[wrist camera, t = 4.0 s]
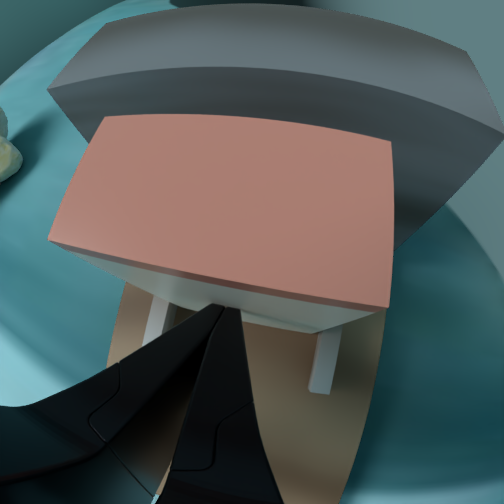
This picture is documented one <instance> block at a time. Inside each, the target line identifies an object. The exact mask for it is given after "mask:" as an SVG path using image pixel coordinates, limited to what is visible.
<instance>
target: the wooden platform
mask: <svg viewBox="0 0 504 504" xmlns="http://www.w3.org/2000/svg"><path fill="white" fill-rule="evenodd" d="M47 91H48V92H49V93H50V95H51V96H52V97H53V99H54V100H55V101H56V103H57V104H58V105H59V107H60V108H61V109H62V111H63V112H64V113H65V114H66V116H67V117H68V118H69V120H70V121H71V122H72V123H73V125H74V126H75V127H76V128H77V130H78V131H79V132H80V133H81V135H82V136H83V137H84V138H85V140H86V141H87V142H88V143H90V142H91V140H92V138H93V136H94V134H95V133H96V131H97V129H98V127H99V126H100V124H101V122H102V120H103V119H104V117H108V116H122V115H143V114H201V115H223V116H238V117H250V118H261V119H270V120H279V121H286V122H294V123H301V124H308V125H314V126H320V127H326V128H331V129H337V130H342V131H347V132H352V133H357V134H361V135H366V136H370V137H374V138H378V139H383V140H387V141H391V147H392V162H393V182H394V244H393V251H394V250H396V249H397V248H398V247H399V246H400V245H401V244H402V243H403V242H405V241H406V240H407V239H408V238H409V237H410V236H411V235H412V234H413V233H414V232H416V231H417V230H418V229H419V228H420V227H421V226H422V225H423V224H424V223H425V222H426V221H427V220H428V219H429V218H430V217H431V216H432V215H434V214H435V213H436V212H437V211H438V210H439V209H440V208H441V207H442V206H443V205H444V204H445V203H446V202H447V201H448V200H449V199H450V198H451V197H452V196H453V195H454V194H455V193H456V192H457V190H459V188H460V187H461V186H462V185H463V184H464V183H465V182H466V181H467V180H468V179H469V178H470V177H471V176H472V175H473V174H474V173H475V171H476V170H477V169H478V168H479V167H480V166H481V165H482V164H483V163H484V162H485V160H486V159H487V158H488V157H489V156H490V154H491V153H493V151H494V150H495V149H496V148H497V147H498V145H499V144H500V143H501V142H502V141H503V140H504V126H503V124H502V121H501V119H500V116H499V114H498V112H497V110H496V107H495V105H494V103H493V101H492V99H491V96H490V94H489V92H488V90H487V88H486V86H485V84H484V82H483V80H482V78H481V76H480V75H479V73H478V71H477V69H476V67H475V65H474V64H473V62H472V60H471V59H470V57H469V55H468V54H467V52H466V51H464V50H462V49H459V48H457V47H455V46H453V45H450V44H448V43H445V42H443V41H441V40H438V39H435V38H433V37H430V36H428V35H425V34H422V33H419V32H417V31H414V30H411V29H408V28H404V27H401V26H398V25H395V24H391V23H387V22H384V21H380V20H376V19H372V18H368V17H364V16H359V15H355V14H350V13H344V12H339V11H333V10H326V9H320V8H312V7H302V6H292V5H278V4H219V5H204V6H194V7H185V8H177V9H170V10H164V11H158V12H152V13H147V14H142V15H137V16H133V17H129V18H124V19H120V20H117V21H113V22H109V23H106V24H105V25H104V26H103V27H102V28H101V29H100V30H99V31H98V32H97V33H96V34H95V35H94V36H93V37H92V38H91V39H90V40H89V41H88V42H87V43H86V44H85V45H84V46H83V47H82V48H81V49H80V50H79V51H78V52H77V54H76V55H75V56H74V57H73V58H72V59H71V60H70V61H69V63H68V64H67V65H66V66H65V67H64V68H63V70H62V71H61V72H60V73H59V74H58V76H57V77H56V78H55V79H54V81H53V82H52V83H51V85H50V86H49V87H48V88H47ZM386 310H387V309H384V310H381V311H379V312H376V313H373V314H370V315H368V316H365V317H362V318H359V319H356V320H353V321H350V322H347V323H344V324H341V325H338V326H335V327H332V328H329V329H325V330H322V331H319V332H316V333H312V334H309V333H303V332H297V331H291V330H286V329H280V328H275V327H269V326H264V325H259V324H254V323H249V322H244V321H242V323H243V330H244V337H245V344H246V351H247V358H248V365H249V372H250V378H251V385H252V391H253V398H254V404H255V410H256V416H257V421H258V426H259V431H260V435H261V439H262V442H263V446H264V449H265V452H266V455H267V458H268V461H269V464H270V467H271V469H272V472H273V475H274V478H275V480H276V483H277V486H278V489H279V491H280V494H281V497H282V499H283V501H284V504H339V501H340V499H341V496H342V494H343V491H344V488H345V486H346V483H347V480H348V477H349V475H350V472H351V469H352V466H353V463H354V460H355V456H356V453H357V450H358V447H359V443H360V440H361V437H362V433H363V429H364V426H365V422H366V418H367V414H368V410H369V406H370V402H371V398H372V393H373V389H374V384H375V379H376V374H377V369H378V363H379V358H380V352H381V346H382V340H383V333H384V326H385V318H386ZM196 312H198V311H194V310H190V309H186V308H182V307H180V306H178V305H175V304H173V303H171V302H169V301H166V300H164V299H162V298H160V297H158V296H155V295H153V294H151V293H149V292H147V291H145V290H143V289H141V288H138V287H136V286H134V285H132V284H130V283H128V282H126V283H125V287H124V291H123V295H122V298H121V302H120V306H119V310H118V314H117V319H116V323H115V327H114V332H113V336H112V341H111V346H110V351H109V356H108V361H107V367H106V368H108V367H110V366H111V365H113V364H115V363H116V362H118V363H119V361H120V360H121V359H123V358H125V357H126V356H128V355H129V354H131V353H133V352H134V351H136V350H138V349H139V348H141V347H142V346H144V345H146V344H147V343H149V342H150V341H152V340H154V339H155V338H157V337H158V336H160V335H162V334H163V333H165V332H166V331H168V330H170V329H171V328H173V327H174V326H176V325H177V324H179V323H181V322H182V321H184V320H185V319H187V318H189V317H190V316H192V315H193V314H195V313H196ZM171 462H172V461H171ZM170 466H171V463H170V465H169V467H168V469H167V471H166V473H165V476H164V478H163V480H162V482H161V484H160V486H159V488H158V490H157V492H156V494H158V495H160V494H161V492H162V490H163V487H164V485H165V482H166V479H167V476H168V473H169V471H170Z"/></svg>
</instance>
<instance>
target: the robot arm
mask: <svg viewBox="0 0 504 504" xmlns="http://www.w3.org/2000/svg"><path fill="white" fill-rule="evenodd" d="M171 461H172V462H171ZM170 463H171V466H170V471H169V473H168V476H167V479H166V482H165V485H164V487H163V490H162V492H161V494H160V496H159V498H158V499H157V501H156V503H155V504H284V501H283V499H282V497H281V494H280V491H279V489H278V486H277V483H276V480H275V478H274V475H273V472H272V469H271V467H270V464H269V461H268V458H267V455H266V452H265V449H264V446H263V442H262V439H261V435H260V431H259V426H258V421H257V416H256V410H255V404H254V398H253V391H252V385H251V378H250V372H249V365H248V358H247V351H246V344H245V337H244V330H243V323H242V316H241V310H240V309H238V308H233V307H226V308H225V306H223V305H219V304H214V303H211V304H209V305H207V306H206V307H204V308H203V309H201V310H200V311H198V312H196V313H195V314H193V315H192V316H190V317H189V318H187V319H185V320H184V321H182V322H181V323H179V324H177V325H176V326H174V327H173V328H171V329H170V330H168V331H166V332H165V333H163V334H162V335H160V336H158V337H157V338H155V339H154V340H152V341H150V342H149V343H147V344H146V345H144V346H142V347H141V348H139V349H138V350H136V351H134V352H133V353H131V354H129V355H128V356H126V357H125V358H123V359H121V360H120V361H119V363H118V362H116V363H115V364H113V365H111V366H110V367H108V368H106V369H105V370H103V371H101V372H99V373H98V374H96V375H94V376H92V377H90V378H88V379H86V380H84V381H82V382H80V383H78V384H76V385H74V386H72V387H70V388H68V389H65V390H63V391H61V392H59V393H56V394H54V395H52V396H49V397H47V398H45V399H43V400H40V401H38V402H35V403H33V404H30V405H26V406H19V407H8V406H0V504H151V502H152V500H153V497H154V496H155V494H156V492H157V490H158V488H159V486H160V484H161V482H162V480H163V478H164V476H165V473H166V471H167V469H168V467H169V465H170Z"/></svg>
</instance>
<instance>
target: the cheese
mask: <svg viewBox="0 0 504 504" xmlns="http://www.w3.org/2000/svg"><path fill="white" fill-rule="evenodd" d="M7 124H8V121H7V117H6V115H5V113H4V111H3V109H2V108H1V107H0V184H1V182H2V181H4V180H6V179H7V178H9V177H10V176H11V175H13V174H14V173H16V172H17V171H18V170H19V169H20V167H21V164H22V161H23V157H22V155H21V153H20V151H19V150H18V149H17V148H16V147H15V146H13V145H12V143H11V142H9V141H8V140H7V139H6V138H7V135H8V127H7Z"/></svg>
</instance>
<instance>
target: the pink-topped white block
mask: <svg viewBox="0 0 504 504" xmlns="http://www.w3.org/2000/svg"><path fill="white" fill-rule="evenodd" d="M47 240H49V241H50V242H52V243H54V244H56V245H57V246H59V247H61V248H63V249H65V250H66V251H68V252H70V253H72V254H74V255H76V256H77V257H79V258H81V259H83V260H85V261H87V262H89V263H90V264H92V265H94V266H96V267H98V268H100V269H102V270H104V271H106V272H108V273H110V274H112V275H114V276H116V277H118V278H120V279H122V280H124V281H126V282H128V283H130V284H132V285H134V286H136V287H138V288H141V289H143V290H145V291H147V292H149V293H151V294H153V295H155V296H158V297H160V298H162V299H164V300H166V301H169V302H171V303H173V304H175V305H178V306H180V307H182V308H186V309H190V310H194V311H200V310H201V309H203V308H204V307H206V306H207V305H209V304H211V303H214V304H219V305H223V306H225V308H226V307H233V308H238V309H240V310H241V316H242V321H244V322H249V323H254V324H259V325H264V326H269V327H275V328H280V329H286V330H291V331H297V332H303V333H309V334H312V333H316V332H319V331H322V330H325V329H329V328H332V327H335V326H338V325H341V324H344V323H347V322H350V321H353V320H356V319H359V318H362V317H365V316H368V315H370V314H373V313H376V312H379V311H381V310H384V309H387V308H389V301H390V291H391V279H392V264H393V244H394V182H393V162H392V147H391V141H387V140H383V139H378V138H374V137H370V136H366V135H361V134H357V133H352V132H347V131H342V130H337V129H331V128H326V127H320V126H314V125H308V124H301V123H294V122H286V121H279V120H270V119H261V118H250V117H238V116H223V115H201V114H143V115H122V116H108V117H104V119H103V120H102V122H101V124H100V126H99V127H98V129H97V131H96V133H95V134H94V136H93V138H92V140H91V142H90V143H89V145H88V147H87V149H86V151H85V153H84V155H83V157H82V159H81V161H80V163H79V165H78V167H77V169H76V171H75V173H74V175H73V177H72V179H71V181H70V184H69V186H68V188H67V190H66V193H65V195H64V197H63V200H62V202H61V204H60V207H59V209H58V212H57V214H56V217H55V219H54V222H53V225H52V227H51V230H50V233H49V236H48V239H47Z"/></svg>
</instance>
